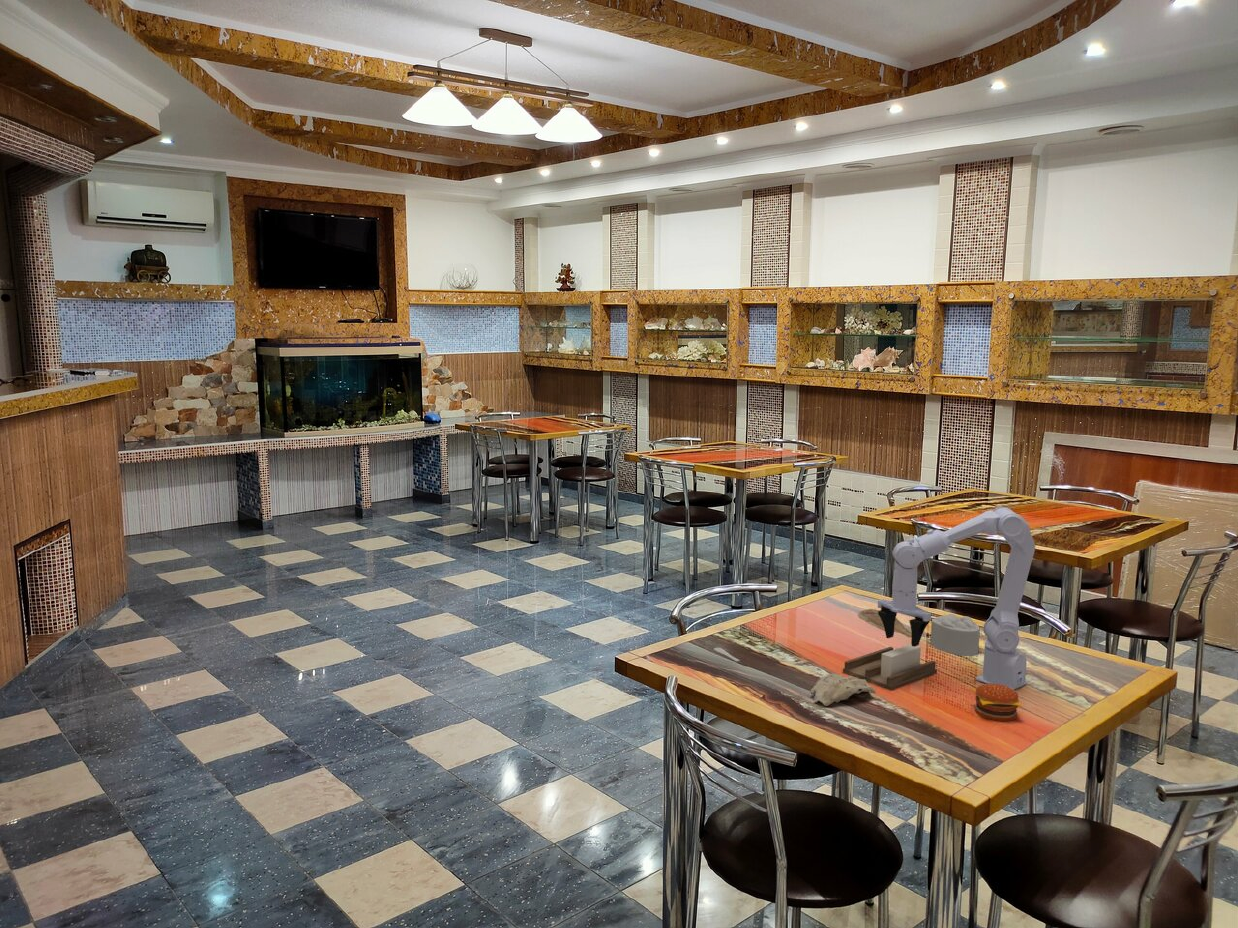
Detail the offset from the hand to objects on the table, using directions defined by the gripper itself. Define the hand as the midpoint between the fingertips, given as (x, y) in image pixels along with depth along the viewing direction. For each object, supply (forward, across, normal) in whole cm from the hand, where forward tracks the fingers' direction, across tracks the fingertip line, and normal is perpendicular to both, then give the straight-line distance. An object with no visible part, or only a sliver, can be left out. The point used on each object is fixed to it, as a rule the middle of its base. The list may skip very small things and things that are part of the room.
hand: (902, 641), depth 227 cm
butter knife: (+10, -32, -26) cm, 42 cm away
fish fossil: (+10, -28, +32) cm, 44 cm away
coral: (+10, -1, -22) cm, 24 cm away
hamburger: (+10, +27, -1) cm, 28 cm away
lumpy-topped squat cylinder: (+10, -4, +30) cm, 32 cm away
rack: (+9, -3, 0) cm, 10 cm away
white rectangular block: (+8, 0, 0) cm, 8 cm away
